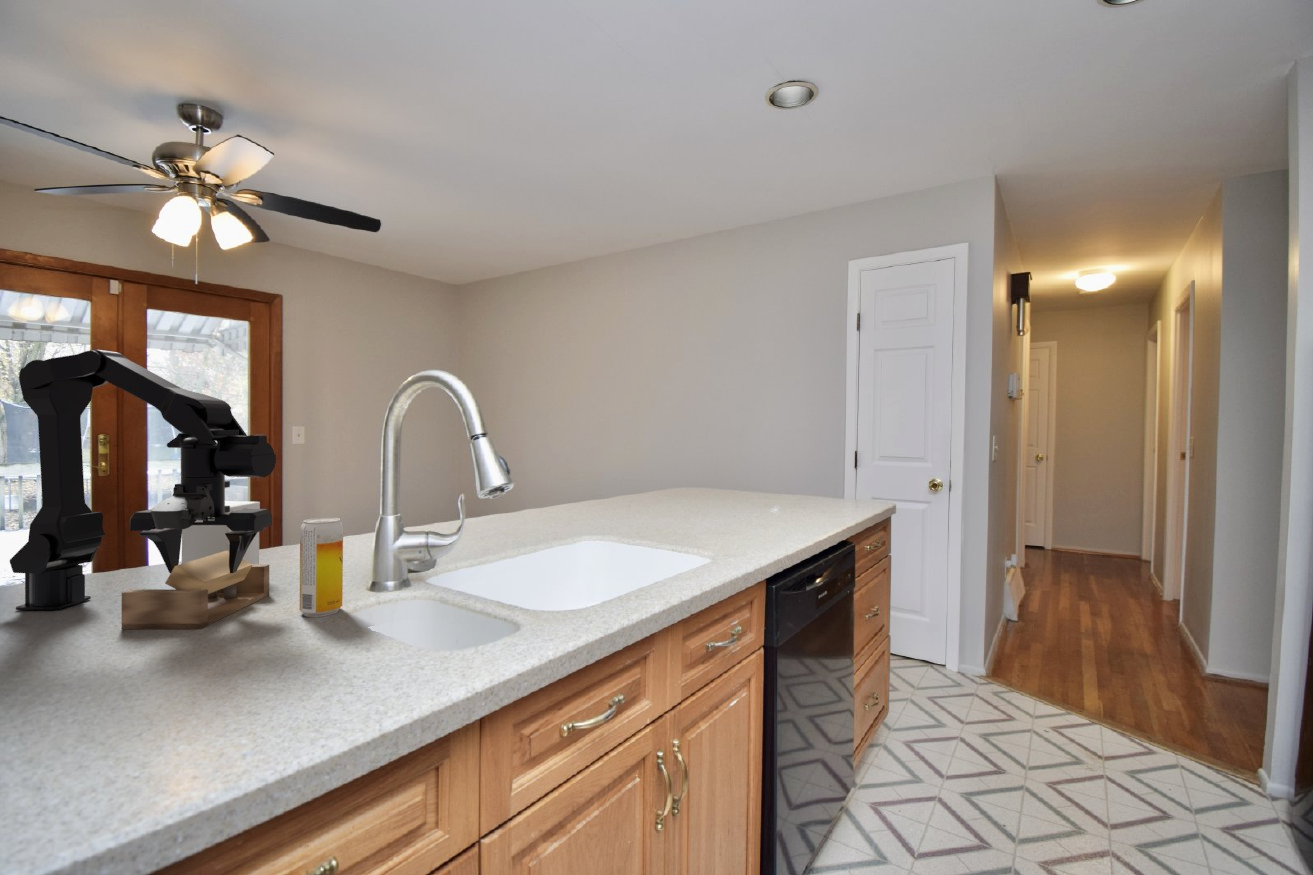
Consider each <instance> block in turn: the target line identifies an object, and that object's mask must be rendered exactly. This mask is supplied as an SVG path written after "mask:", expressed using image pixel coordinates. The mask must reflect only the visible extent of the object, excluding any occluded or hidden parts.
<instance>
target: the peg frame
mask: <svg viewBox="0 0 1313 875" xmlns="http://www.w3.org/2000/svg"><path fill="white" fill-rule="evenodd" d="M267 596H270V564H260V563H259V564H253V565H252V567H251V569H250V571H249V572H248V574H247V576H246V577H245V579H244V580H243V581H240V582H238V583H235V584H232V585H230V586H227V587H225V588H222V589H220V590H217V591H215V592H212V593H210V594H208V590H176V589H169V588H168V589H165V588H164V589H157V588H156V589H150V588H149V589H145V588H144V589H142V588H139V589H128V590H127V589H126V591H122V592H121V630H200V629H201V630H202V629H203V628H205V627H208V626H209V625H211V624H213V623H216V622H217V621H219V620H221V619H223V618H225V617H228V616H229V615H231V614H233V613H235V612H238V611H240V610H242V609H244V608H246V607H248V606H249V605H252V604H254V603H256V602H257V601H259V600H262V599H264V598H266V597H267Z"/></svg>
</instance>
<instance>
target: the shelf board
mask: <svg viewBox="0 0 1313 875" xmlns="http://www.w3.org/2000/svg"><path fill="white" fill-rule="evenodd" d="M252 565H253V564H251V563H249V562H247V561H245V560H243V559H242V561H241V563H240V565H239V567H238V569H237V571H236V572H235V573H230V570H229V552H228V551H227V550H226V551H223V552H220V553H217V554H213V555H210V556H207V557H203V558H200V559H197V560H193V561H190V562H187V563H183V564H181V563H180V564H178V565H177V566H175V567H174V569H173V570H172V572H171V574H170V573H169V576H168V577H167V579H166V581H165V582H164V584H166V585H167V586H169V587H171V588H173V589H174V590H208V594H210V593H212V592H215V591H217V590H220V589H222V588H225V587H227V586H230V585H232V584H235V583H238V582H240V581H243V580H244V579H245V577H246V576H247V574H248V572H249V571H250V569H251V567H252Z"/></svg>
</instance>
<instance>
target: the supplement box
mask: <svg viewBox="0 0 1313 875" xmlns="http://www.w3.org/2000/svg"><path fill="white" fill-rule="evenodd" d="M225 506H230V512H227V513H225V514H230V513H231V512H235V511H240V510H244V509H261V507H260V506H261V502H260V501H250V500H249V501H243V500H241V501H239V500H238V501H237V500H225ZM228 532H232V531H231V530H230V529H229V528H228V527H227V525H192V526H190V527H189V528H186V529H182V538H181V563H180V564H183V563H187V562H190V561H193V560H197V559H200V558H203V557H207V556H210V555H213V554H217V553H220V552H223V551H226V550H227V551H228V552H229V544H230V543H229V540H228V538H227V537H226V535H225V533H228ZM243 560H245V561H247V562H249V563H251V564H260V532H258V533H257V534H256V536H255V537H254V539H253V540H252V542H251V544H250V545H249V547H248V549H247V551H246V553H245V555H244V557H243Z"/></svg>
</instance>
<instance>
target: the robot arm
mask: <svg viewBox="0 0 1313 875" xmlns="http://www.w3.org/2000/svg"><path fill="white" fill-rule="evenodd" d="M18 380H19V386H20V391H21V394H22V399H23V400H24V403H26V404H27V406H28V407H29V408H30V410H32V411H33V413H34V414H35V415H36V416H37V417H36V418H37V423H38V424H37V427H38V444H39V445H38V446H39V464H40V465H39V466H40V481H41V482H40V483H41V500H42V501H41V503H42V506H41V508H39V510H38V512H37V514H36V515H35V517H34V518H33V520H32V521H31V523H30V525H29V532H28V540H27V541H26V543H25V544H24V545H23V546H22V547H21V548H20V549H19V550H18V551H17V552H16V553H15V554H14V555H13V556H12V557H11V558H10V559H9V564H10V567H11V569H12V572H13V573H14V574H24V590H25V591H24V603H23V604H20V605H17V606H15V610H16V611H56V610H62V609H64V608H69V607H70V606H74V605H76V604H79V603H80V604H81V603H83V602H86V601H88V600H91V599H92V598H91V597H92V596H91V595H86V575H85V573H83V572H84V571H83V564H85V563H86V564H87V563H89V564H90V563H93V561H94V557H95V556H96V552H97V550H98V548H99V547H100V546H101V545H102V544H101V543H102V538H103V537H105V535H106V533H105V531H104V526H103V524H104V515H103V513H102V512H101V511H97V512H96V511H95V512H94V511H93V510H92V509H91V508H90V507H89V505H88V504H87V503H86V500H85V499H86V498H85V480H84V465H83V464H84V462H83V461H84V460H83V443H82V442H83V441H82V426H81V425H82V423H81V418H82V415H83V413H84V411H86V409H87V407H88V406H89V405H90V403H91V402H92V399H93V398H92V397H93V391H94V390H93V389H95V388H99V387H102V386H104V385H107V384H108V383H109V384H111V385H113V386H115V387H117V388H119V389H121V390H122V391H125V393H128V394H130V395H132V396H133V397H136V398H137V399H139V400H141V401H143V402H145V403H147V404H148V405H150V406H152V407H154V408H156V410H158V411H159V412H160V415H161V416H162V418H163V420H164V421H166V422H167V423H168V424H169V425H171V427H173V428H174V429H176V430H177V431H178V432H179V433H177V436H176V437H174V438H173V439H171V440H170V441H169V442H167V443H166V447H167V448H168V449H169V448H170V449H174V448H175V449H176V448H177V449H180V483H175V484H174V487H173V488H172V490H173V493H172V496H170V497H167V498H165V499H163V500H162V501H161V502H159V503H157V504H156V505H154V506H153V507H151V509H146V510H140V511H135V512H134V513H133V514H132V515H131V517H130V519H129V531H131V532H134V531H135V532H137V531H138V532H137V534H138V535H139V536H140V537H146V539H149V541H152V542H153V544H154V545H155V547H156V548H157V550H158V552H159V554H160V557H161V558H162V561H163V562H164V564H165V567H166V569H167V570H168V573H169V575H170V574H171V572H172V570H173V569H174V567H175V566H177V565H180V564H179V563H180V556H181V548H182V529H186V528H189V527H190V526H192V525H227V527H228V528H229V529H230V530H231V531H232V532H228V533H225V535H226V537H227V538H228V540H229V543H230V544H229V570H230V573H235V572H236V571H237V569H238V567H239V565H240V563H241V561H242V559H243V557H244V555H245V553H246V551H247V549H248V547H249V545H250V544H251V542H252V540H253V539H254V537H255V536H256V534H257V533H258V532H259V533H260V532H264V530H265V528H267V527H271V526H273V514H272V513H271V511H270V510H269V509H268V508H260V509H244V510H240V511H235V512H231V513H230V514H225V513H227V512H230V506H225V501H226V500H225V499H226V491H225V490H226V489H227V488H230V487H231V481H230V480H226V477H231V478H234V477H236V478H266V477H269V475H271V474H272V472H273V471H274V469H275V468H276V463H277V455H276V453H275V451H274V449H273V447H272V445H271V444H270V443H269V442H268V435H266V434H250V435H248V434H247V433H246V432H245V430H244V429H243V427H241V425H240V424H239V422H238V421H237V419H236V418H235V417H234V415H233V413H232V407H231V406H230V404H229V403H227V402H226V401H224V399H223V400H222V399H219V398H216V397H214V396H210V395H207V394H204V393H199V392H195V391H191V390H187V389H185V388H183V387H182V388H181V387H180V386H178V385H176V384H174V383H172V382H171V381H169V380H167V379H165V378H163V377H161V376H160V375H157V374H155V373H154V372H152V371H150V370H148V369H146V368H145V367H143V366H141V365H139V364H138V363H136V362H133V361H132V360H130V359H128V358H127V357H126V356H125V355H123V354H121V353H120V352H116V351H111V350H110V351H109V350H101V349H90V350H85V351H82V352H80V353H77V354H71V355H64V356H58V357H52V358H48V359H44V360H43V359H34V360H31V361H29V362H27V363H26V365H25V366H24V367H22V368H20V370H19V374H18Z"/></svg>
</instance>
